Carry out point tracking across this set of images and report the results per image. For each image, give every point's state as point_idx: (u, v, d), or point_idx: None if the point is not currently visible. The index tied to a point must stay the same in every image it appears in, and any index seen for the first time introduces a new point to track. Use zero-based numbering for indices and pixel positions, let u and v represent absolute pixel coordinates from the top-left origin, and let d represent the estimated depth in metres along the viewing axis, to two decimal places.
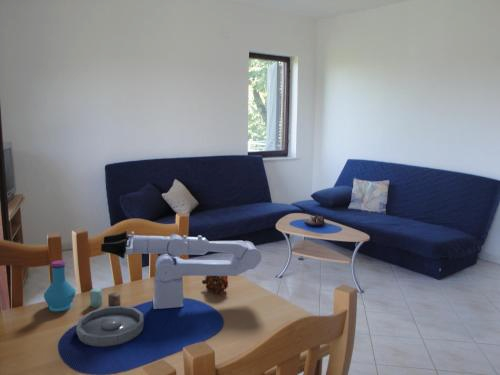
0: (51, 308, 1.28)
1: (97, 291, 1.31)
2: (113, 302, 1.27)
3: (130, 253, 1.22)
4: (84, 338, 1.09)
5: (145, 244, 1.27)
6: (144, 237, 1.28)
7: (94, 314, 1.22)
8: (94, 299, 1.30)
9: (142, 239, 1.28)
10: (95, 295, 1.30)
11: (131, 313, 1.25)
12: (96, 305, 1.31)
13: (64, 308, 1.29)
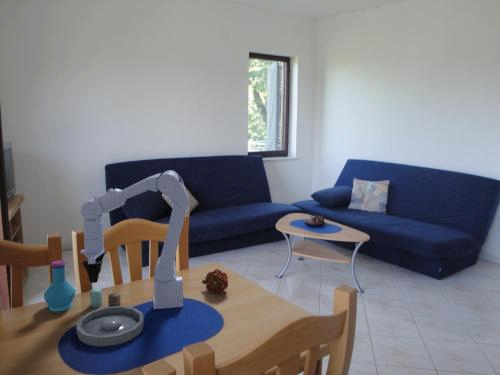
0: (51, 308, 1.28)
1: (97, 291, 1.31)
2: (113, 302, 1.27)
3: (93, 259, 1.23)
4: (84, 338, 1.09)
5: (89, 241, 1.26)
6: (84, 241, 1.27)
7: (94, 314, 1.22)
8: (94, 299, 1.30)
9: (85, 244, 1.27)
10: (95, 295, 1.30)
11: (131, 313, 1.25)
12: (96, 305, 1.31)
13: (64, 308, 1.29)
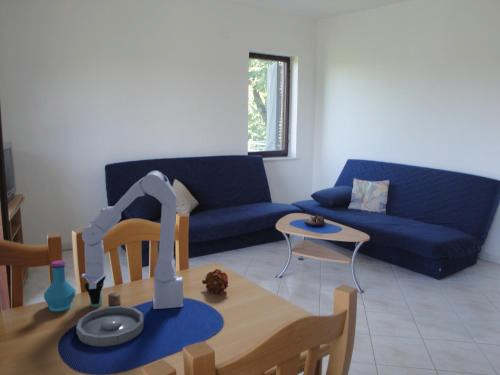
0: (51, 308, 1.28)
1: None
2: (113, 302, 1.27)
3: (94, 284, 1.24)
4: (84, 338, 1.09)
5: (90, 266, 1.27)
6: (85, 265, 1.28)
7: (94, 314, 1.22)
8: None
9: (86, 268, 1.28)
10: None
11: (131, 313, 1.25)
12: (96, 305, 1.31)
13: (64, 308, 1.29)
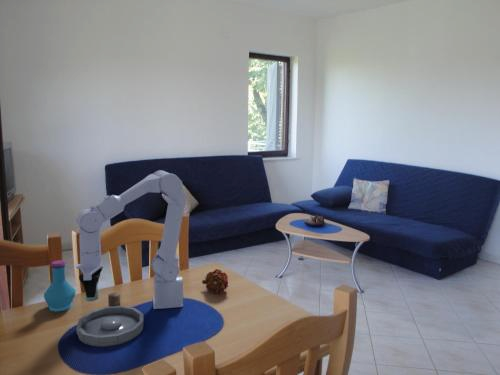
0: (51, 308, 1.28)
1: None
2: (113, 302, 1.27)
3: (89, 275, 1.13)
4: (84, 338, 1.09)
5: (85, 255, 1.16)
6: (80, 255, 1.17)
7: (94, 314, 1.22)
8: None
9: (81, 258, 1.17)
10: None
11: (131, 313, 1.25)
12: (91, 299, 1.20)
13: (64, 308, 1.29)
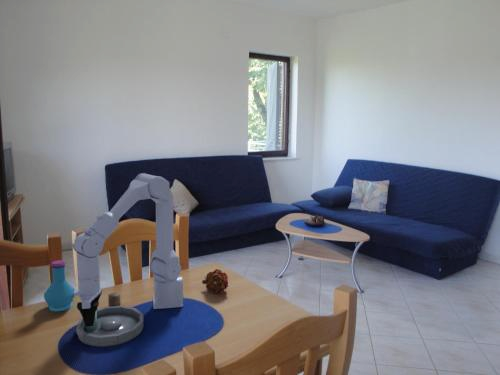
0: (51, 308, 1.28)
1: None
2: (113, 302, 1.27)
3: (88, 303, 1.08)
4: (84, 338, 1.09)
5: (84, 281, 1.11)
6: (78, 281, 1.12)
7: None
8: None
9: (79, 284, 1.12)
10: None
11: (131, 313, 1.25)
12: (90, 328, 1.14)
13: (64, 308, 1.29)
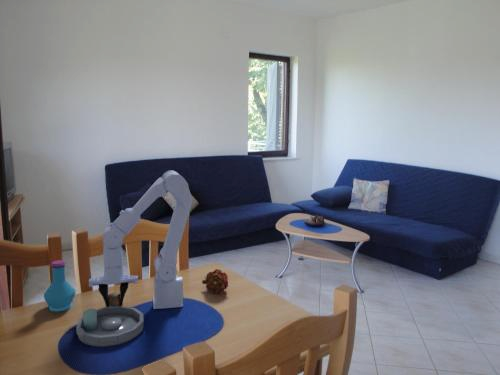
0: (51, 308, 1.28)
1: (91, 312, 1.15)
2: (113, 302, 1.27)
3: None
4: (84, 338, 1.09)
5: None
6: None
7: None
8: (88, 321, 1.14)
9: None
10: (89, 317, 1.14)
11: (131, 313, 1.25)
12: (90, 328, 1.14)
13: (64, 308, 1.29)
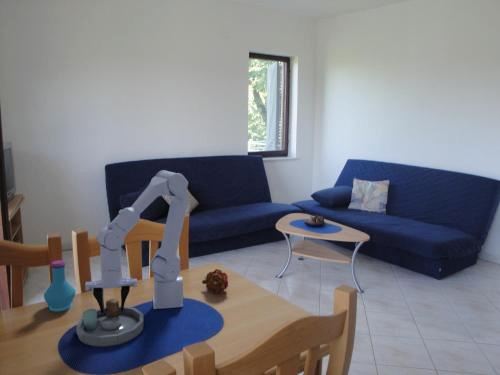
0: (51, 308, 1.28)
1: (91, 312, 1.15)
2: (111, 309, 1.21)
3: (85, 285, 1.19)
4: (84, 338, 1.09)
5: None
6: None
7: None
8: (88, 321, 1.14)
9: None
10: (89, 317, 1.14)
11: (131, 313, 1.25)
12: (90, 328, 1.14)
13: (64, 308, 1.29)
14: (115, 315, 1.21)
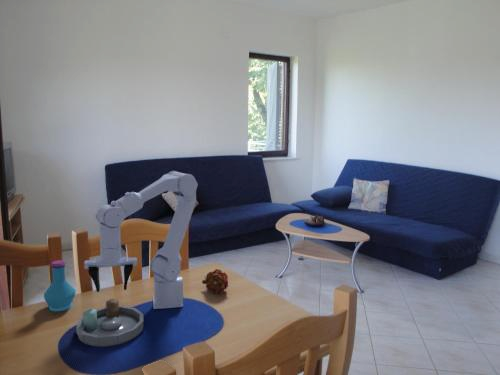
0: (51, 308, 1.28)
1: (91, 312, 1.15)
2: (111, 309, 1.21)
3: None
4: (84, 338, 1.09)
5: None
6: None
7: None
8: (88, 321, 1.14)
9: None
10: (89, 317, 1.14)
11: (131, 313, 1.25)
12: (90, 328, 1.14)
13: (64, 308, 1.29)
14: (115, 315, 1.21)
